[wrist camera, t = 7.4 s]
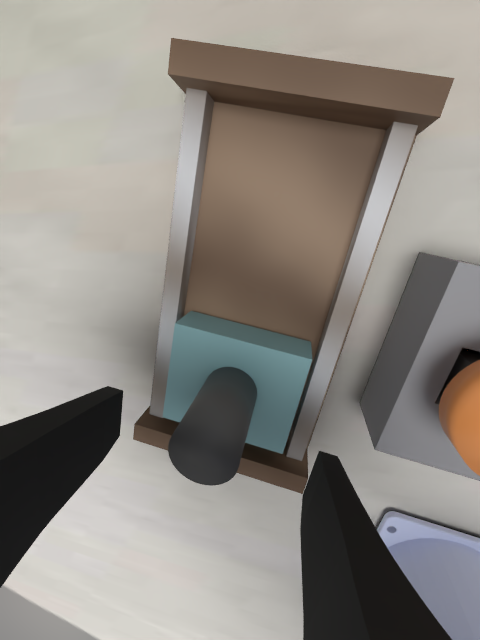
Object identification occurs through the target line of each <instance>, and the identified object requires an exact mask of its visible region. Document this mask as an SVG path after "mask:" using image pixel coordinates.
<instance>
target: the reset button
mask: <svg viewBox="0 0 480 640" xmlns="http://www.w3.org/2000/svg"><path fill="white" fill-rule="evenodd" d="M444 385H445V386H446V388H445V390H444V392H443V394H442V396H441V399H440V403H439V420H440V424H441V426H442V429H443V431H444V432H445V434H446V435H447V437H448V438H449V440H450V441H451V443H452V444H453V446H454V447H455V448H456V450H457V451H458V453H459V454H460V456H461V457H462V459H463V460H464V462H465V463H466V464H467V465H468V466H469V468H470V469H471V470H473V471H474V472H475V473H476V474H477V475H479V476H480V354H476V353H472V352H468V351H464V350H461V351H460V353H459V355H458V357H457V359H456V361H455V363H454V365H453V367H452V369H451V371H450V373H449V375H448V377H447V379H446V381H445V383H444Z"/></svg>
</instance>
